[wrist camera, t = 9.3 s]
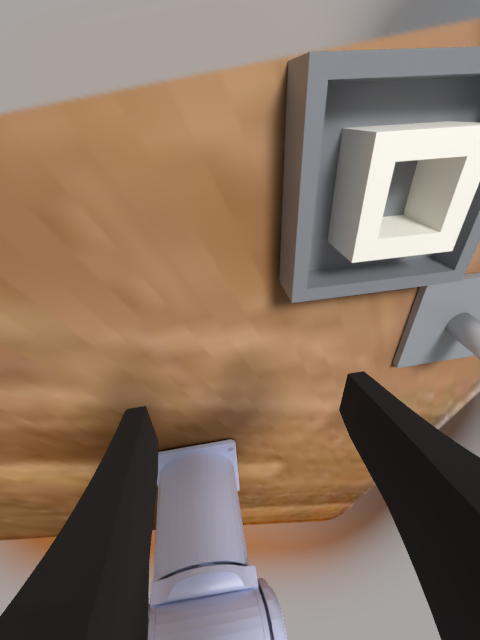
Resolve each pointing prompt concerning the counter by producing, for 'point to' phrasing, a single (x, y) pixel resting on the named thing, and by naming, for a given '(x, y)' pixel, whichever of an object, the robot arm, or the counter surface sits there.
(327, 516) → the counter surface
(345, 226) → the ring
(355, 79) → the tray
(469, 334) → the grey plate with post
